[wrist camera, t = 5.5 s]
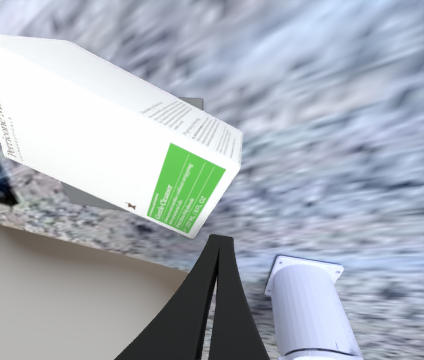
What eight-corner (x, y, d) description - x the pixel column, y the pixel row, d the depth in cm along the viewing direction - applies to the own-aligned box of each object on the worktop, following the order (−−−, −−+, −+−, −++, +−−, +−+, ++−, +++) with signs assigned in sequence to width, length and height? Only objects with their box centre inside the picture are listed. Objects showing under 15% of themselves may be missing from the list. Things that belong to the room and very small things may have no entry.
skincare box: (195, 242, 15) (1, 164, 13) (209, 192, 20) (72, 132, 19) (244, 162, 10) (-51, 25, 8) (245, 125, 15) (65, 37, 14)
